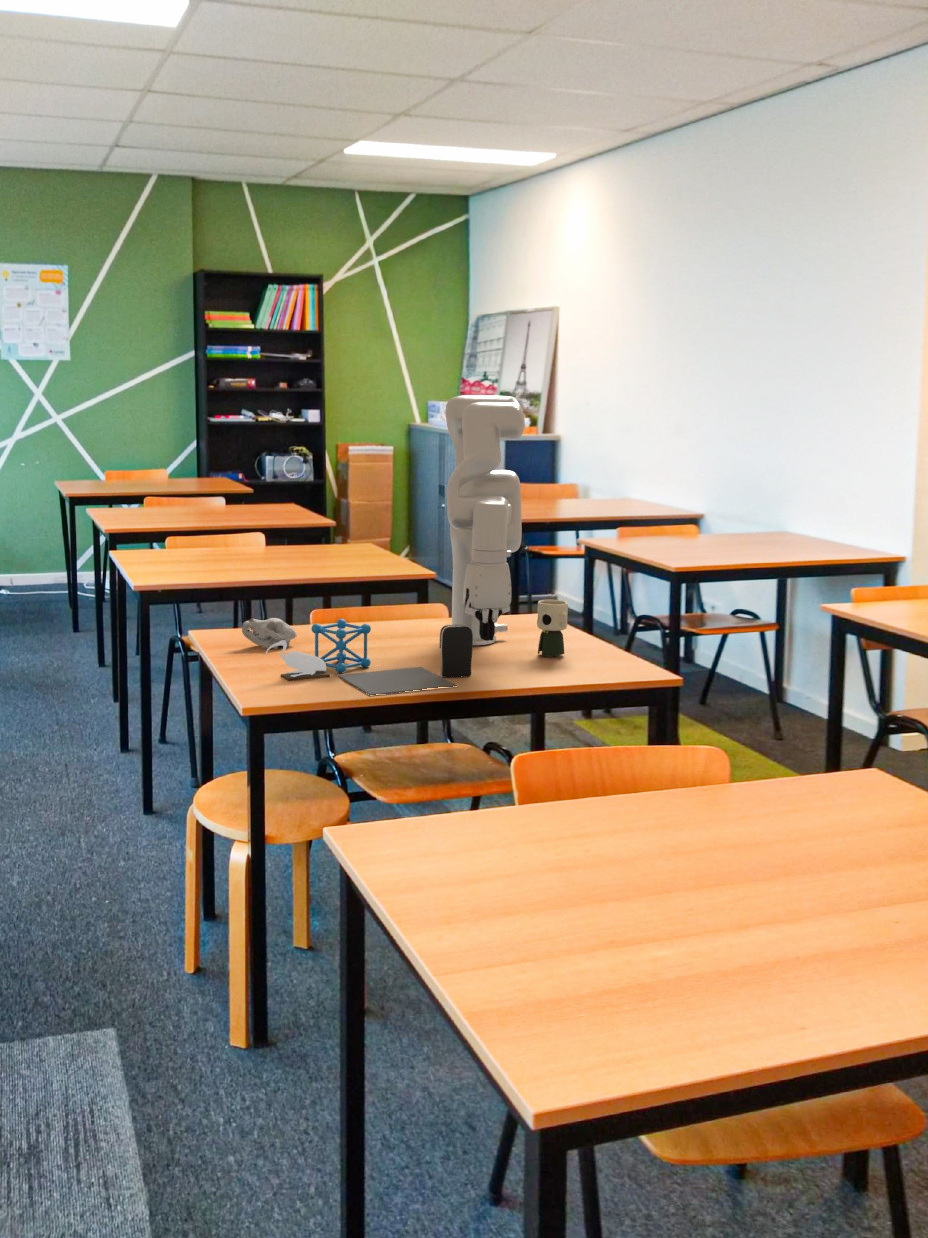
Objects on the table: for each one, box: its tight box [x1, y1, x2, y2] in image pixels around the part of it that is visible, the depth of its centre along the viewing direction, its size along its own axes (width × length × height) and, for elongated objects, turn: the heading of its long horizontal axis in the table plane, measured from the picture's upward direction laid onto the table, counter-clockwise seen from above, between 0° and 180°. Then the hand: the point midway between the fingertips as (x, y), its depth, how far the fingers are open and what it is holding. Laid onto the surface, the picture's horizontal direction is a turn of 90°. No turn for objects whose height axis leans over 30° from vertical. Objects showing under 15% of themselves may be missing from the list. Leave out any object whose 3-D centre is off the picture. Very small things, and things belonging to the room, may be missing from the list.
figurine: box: [264, 640, 331, 682], centre depth 269 cm, size 14×4×9 cm, turn 119°
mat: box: [337, 666, 458, 696], centre depth 268 cm, size 20×18×1 cm
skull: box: [241, 617, 298, 650], centre depth 298 cm, size 8×9×12 cm
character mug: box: [536, 599, 569, 658], centre depth 295 cm, size 11×7×13 cm, turn 32°
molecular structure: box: [310, 618, 372, 674], centre depth 279 cm, size 10×10×10 cm
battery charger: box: [439, 624, 474, 679], centre depth 274 cm, size 7×4×11 cm, turn 106°
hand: (486, 639), depth 277 cm, fingers closed
